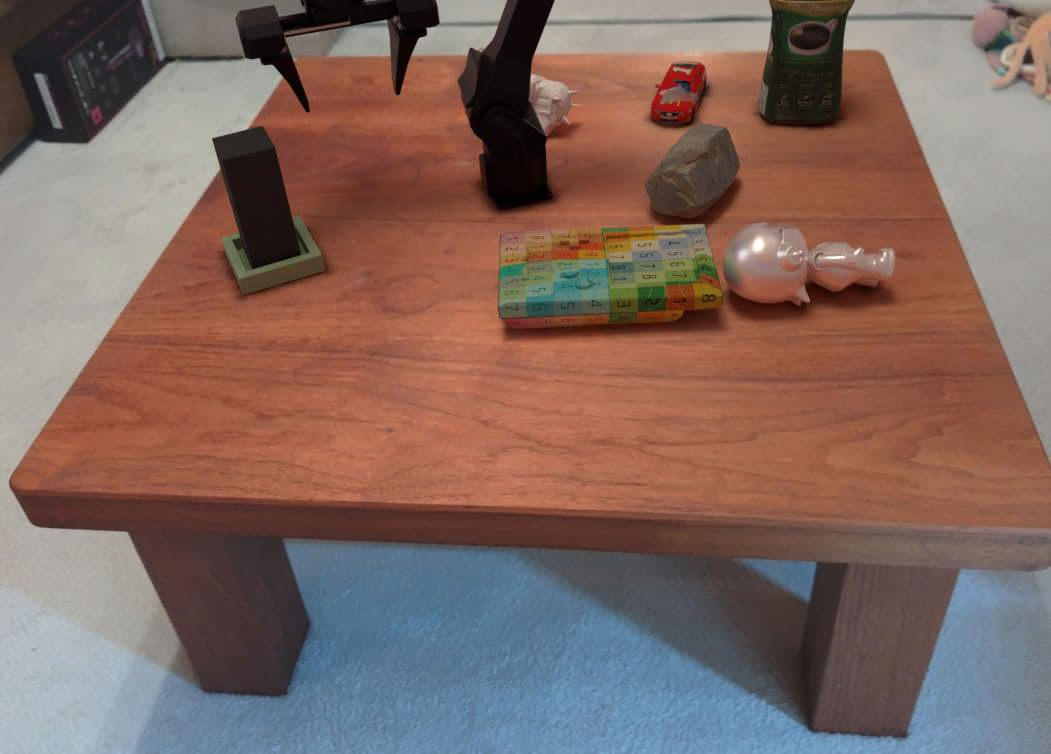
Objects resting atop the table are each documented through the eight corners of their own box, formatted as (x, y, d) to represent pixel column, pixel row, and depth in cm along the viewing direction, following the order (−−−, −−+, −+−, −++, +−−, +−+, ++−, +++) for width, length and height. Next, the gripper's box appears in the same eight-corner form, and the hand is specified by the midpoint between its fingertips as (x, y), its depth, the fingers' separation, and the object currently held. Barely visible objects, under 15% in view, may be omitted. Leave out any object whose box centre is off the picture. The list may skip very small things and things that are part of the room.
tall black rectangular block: (291, 238, 106) (262, 125, 98) (303, 261, 103) (275, 146, 94) (244, 251, 105) (211, 137, 96) (255, 275, 101) (222, 160, 93)
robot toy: (434, 111, 119) (542, 137, 113) (449, 35, 116) (559, 57, 111) (494, 123, 132) (593, 147, 126) (509, 55, 130) (610, 76, 124)
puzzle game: (499, 226, 98) (705, 215, 97) (503, 266, 101) (702, 256, 100) (497, 298, 89) (723, 287, 88) (501, 339, 92) (720, 329, 91)
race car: (689, 131, 120) (691, 100, 118) (645, 126, 122) (645, 95, 119) (711, 83, 129) (713, 53, 127) (670, 79, 131) (671, 49, 128)
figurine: (911, 223, 88) (746, 204, 87) (906, 307, 88) (740, 289, 86) (859, 246, 99) (711, 230, 97) (855, 321, 98) (705, 306, 97)
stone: (678, 165, 114) (681, 100, 109) (746, 178, 111) (753, 113, 106) (634, 219, 106) (635, 152, 101) (707, 235, 103) (711, 167, 98)
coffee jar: (835, 98, 124) (859, -58, 112) (841, 128, 118) (867, -33, 106) (755, 97, 126) (771, -57, 114) (757, 126, 120) (773, -32, 108)
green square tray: (303, 231, 108) (299, 215, 107) (325, 270, 102) (322, 254, 101) (225, 253, 106) (220, 237, 104) (243, 295, 100) (238, 279, 98)
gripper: (404, -97, 99) (423, 55, 109) (213, -68, 96) (251, 87, 106) (431, -64, 91) (449, 97, 101) (223, -31, 87) (264, 133, 98)
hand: (352, 102), depth 102 cm, fingers open, 9 cm apart
